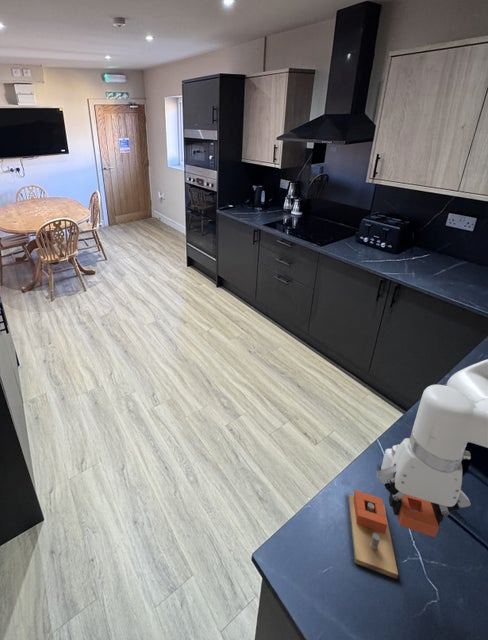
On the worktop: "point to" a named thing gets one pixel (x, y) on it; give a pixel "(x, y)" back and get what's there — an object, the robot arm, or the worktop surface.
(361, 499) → the pad
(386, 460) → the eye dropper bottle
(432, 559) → the worktop surface
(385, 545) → the base board
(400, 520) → the orange square ring block
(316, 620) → the worktop surface
